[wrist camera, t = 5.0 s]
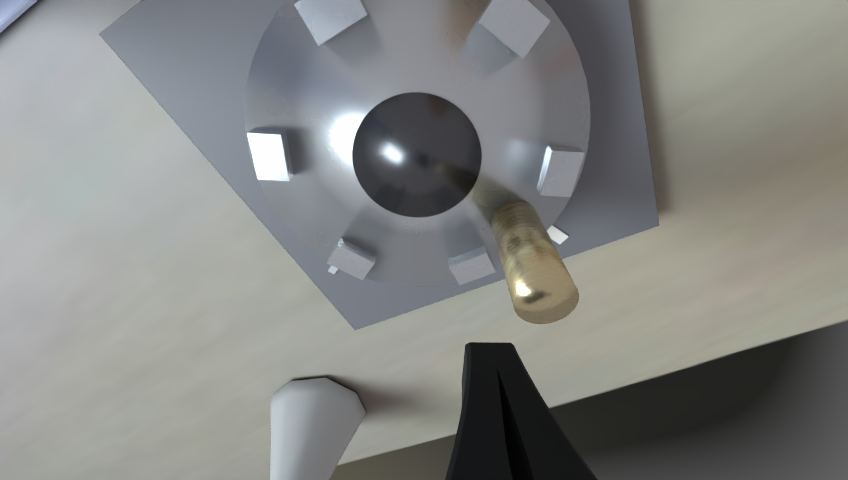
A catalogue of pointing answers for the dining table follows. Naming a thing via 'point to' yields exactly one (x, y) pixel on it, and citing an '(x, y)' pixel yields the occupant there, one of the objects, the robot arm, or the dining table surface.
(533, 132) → the crank wheel with handle
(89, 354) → the dining table surface
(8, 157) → the dining table surface
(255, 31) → the cap plate
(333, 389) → the flask
